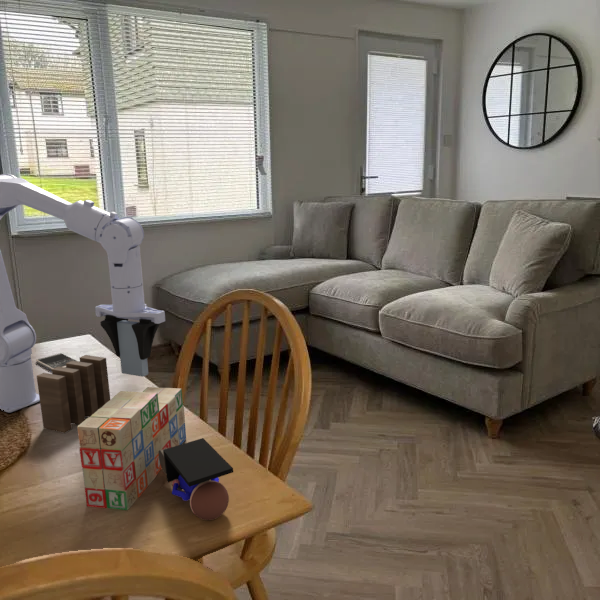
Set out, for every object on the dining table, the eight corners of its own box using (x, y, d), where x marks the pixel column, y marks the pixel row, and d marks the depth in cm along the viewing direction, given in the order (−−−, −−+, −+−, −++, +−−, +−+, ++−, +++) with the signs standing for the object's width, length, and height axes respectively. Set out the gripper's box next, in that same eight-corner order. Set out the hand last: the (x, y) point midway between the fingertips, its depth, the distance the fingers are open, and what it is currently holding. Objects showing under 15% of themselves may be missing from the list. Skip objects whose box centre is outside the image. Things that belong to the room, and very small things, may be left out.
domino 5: (142, 376, 111) (138, 325, 108) (121, 373, 113) (116, 322, 110) (148, 373, 112) (144, 322, 110) (127, 370, 114) (122, 320, 112)
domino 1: (64, 433, 104) (58, 379, 102) (43, 428, 106) (36, 375, 104) (71, 429, 106) (65, 376, 103) (50, 424, 108) (43, 372, 105)
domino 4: (105, 410, 113) (100, 360, 111) (85, 406, 115) (79, 357, 113) (111, 407, 115) (106, 357, 112) (91, 403, 117) (85, 354, 114)
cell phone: (54, 375, 134) (54, 369, 133) (35, 364, 141) (34, 358, 141) (81, 368, 138) (80, 362, 138) (60, 357, 146) (59, 352, 145)
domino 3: (92, 417, 110) (86, 366, 108) (72, 413, 112) (65, 363, 110) (98, 414, 112) (93, 363, 109) (78, 410, 114) (72, 360, 111)
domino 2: (79, 425, 107) (72, 372, 105) (58, 420, 109) (51, 369, 107) (85, 421, 109) (79, 369, 106) (64, 417, 111) (58, 366, 108)
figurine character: (157, 490, 88) (193, 534, 75) (151, 441, 87) (186, 476, 74) (201, 477, 92) (242, 517, 78) (196, 430, 90) (236, 461, 77)
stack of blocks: (152, 436, 102) (146, 369, 99) (187, 439, 101) (182, 371, 98) (85, 507, 82) (75, 425, 79) (128, 511, 81) (119, 428, 78)
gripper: (173, 283, 109) (178, 354, 112) (111, 278, 115) (117, 345, 118) (148, 291, 103) (154, 366, 106) (84, 286, 109) (91, 356, 112)
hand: (133, 356), depth 112 cm, fingers closed on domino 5, 5 cm apart
